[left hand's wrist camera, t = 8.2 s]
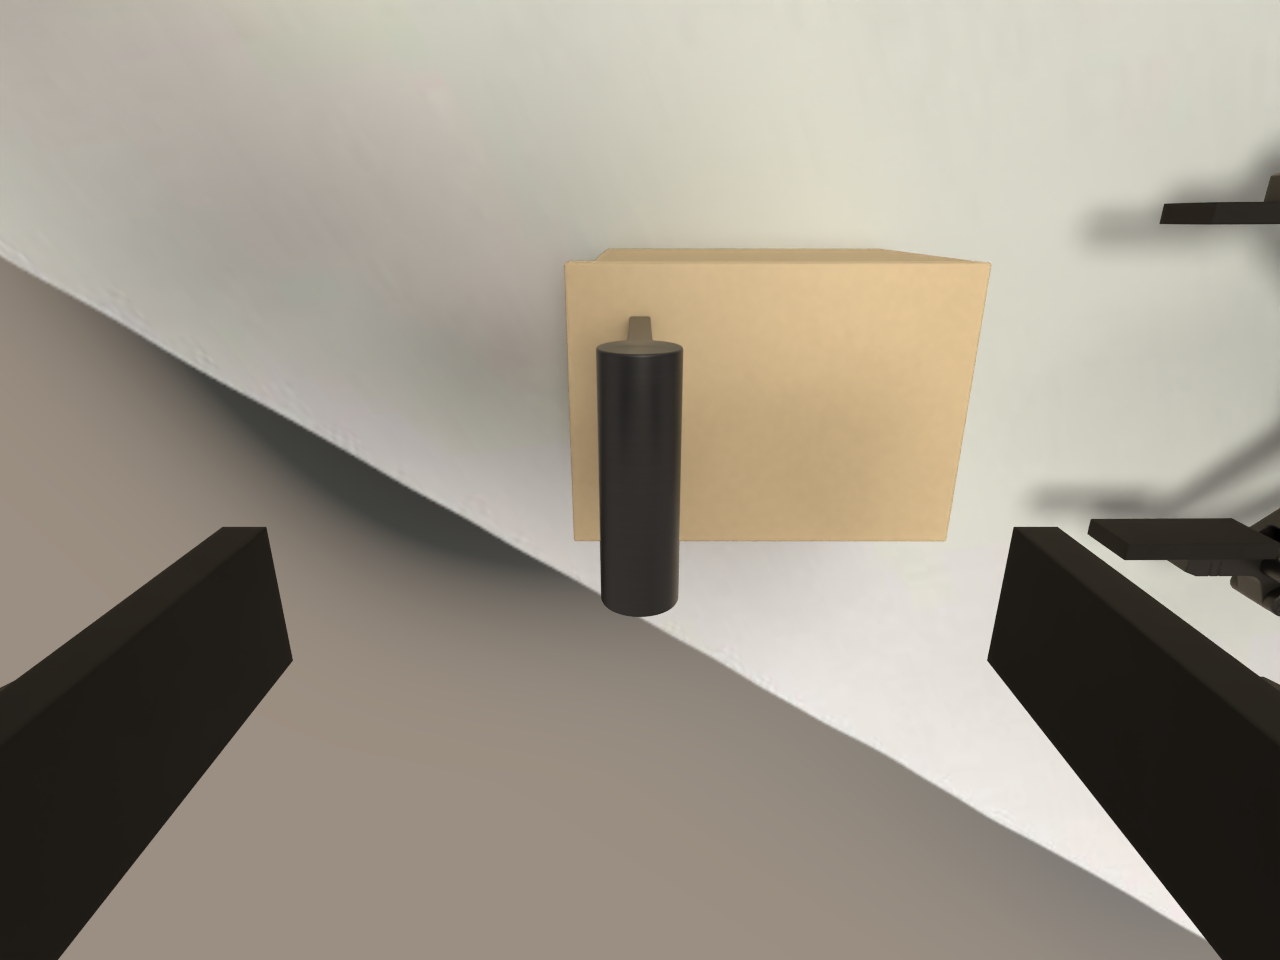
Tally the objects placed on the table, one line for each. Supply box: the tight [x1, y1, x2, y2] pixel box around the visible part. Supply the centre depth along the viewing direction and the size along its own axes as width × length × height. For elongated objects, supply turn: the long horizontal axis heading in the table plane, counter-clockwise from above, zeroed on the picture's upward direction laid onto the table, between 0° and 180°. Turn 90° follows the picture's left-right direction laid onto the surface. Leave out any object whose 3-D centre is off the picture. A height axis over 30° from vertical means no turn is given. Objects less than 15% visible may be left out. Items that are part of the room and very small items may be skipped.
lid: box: [564, 261, 991, 617], centre depth 22 cm, size 14×10×9 cm
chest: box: [595, 249, 970, 261], centre depth 31 cm, size 13×10×10 cm
